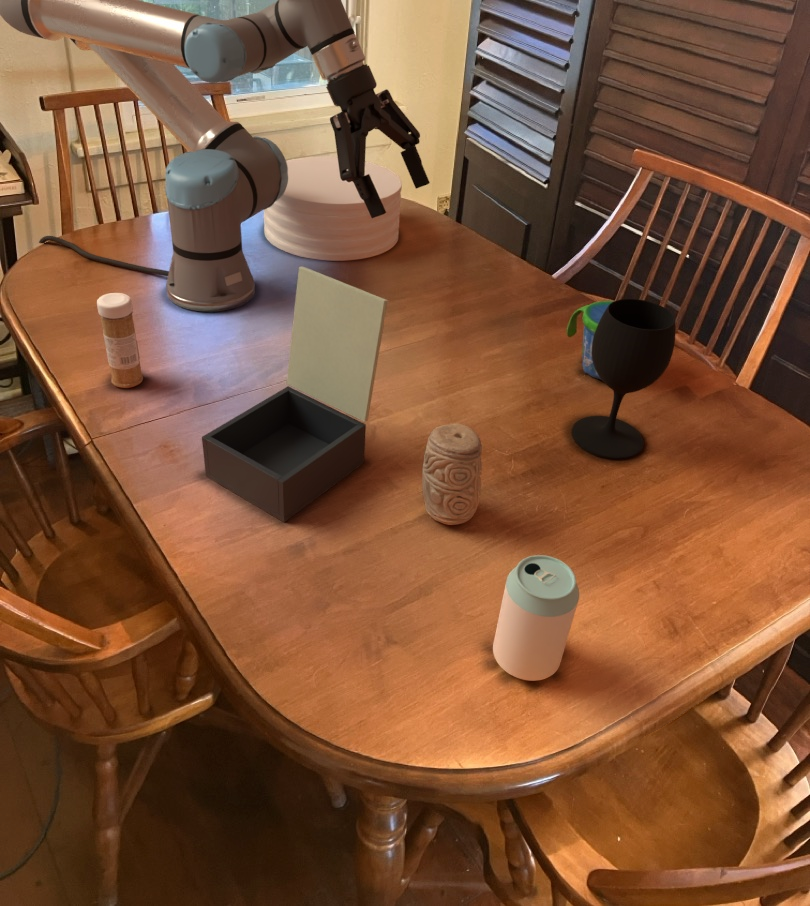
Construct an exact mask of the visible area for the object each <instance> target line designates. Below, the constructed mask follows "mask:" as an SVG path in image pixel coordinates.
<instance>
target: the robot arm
mask: <svg viewBox="0 0 810 906" xmlns="http://www.w3.org/2000/svg"><path fill="white" fill-rule="evenodd" d="M0 17H1V18H2V19H3V21H4V22H6V23H7V24H8V25H9V26H10V27H12V28H13V29H15V30H17V31H18V32H20V33H23V34H24V35H28V36H32V37H36V38H40V39H43V40H48V41H55V42H56V41H59V40H61V39H63V38H67V39H69V40H70V41H71V42H72V43H73V44H74V45H75V46H76V47H77V48H78V49H79V50H81V51H86V52H88V51H90V52H93V53H95V54H96V55H97V56H98V57H99V58H100V60H101V61H103V63H104V64H105V65H106V66H107V67H108V68H109V70H111V72H113V74H115V76H116V77H117V78H118V79H119V80H120V81H121V82H122V83H123V84H124V86H126V87H127V89H128V90H130V91H131V93H132V94H133V95H134V96H135V97H136V98H137V99H138V100H139V101H140V102H141V103H142V104H143V105H144V106H145V107H146V109H148V111H149V112H150V113H151V114H152V115H153V116H154V117H155V118H156V119H157V120H158V121H159V123H161V124H162V125H163V126H164V128H165V129H167V131H169V133H170V134H171V135H172V136H173V137H174V138H175V139H176V140H177V141H178V142H179V143H180V144H181V145H182V147H183V148H184V149H185V150H186V152H184V153H180V154H179V155H177V156H175V157H174V158H173V159H171V160H170V162H169V163H167V166H166V169H165V175H164V178H165V184H164V193H165V197H166V202H167V210H168V218H169V227H170V232H171V233H170V235H171V236H170V237H171V242H172V257H171V261H170V265H169V270H165V269H159V268H152V267H147V266H143V265H137V264H134V263H129V262H125V261H121V260H117V259H112V258H109V257H103V256H100V255H96V254H92V253H91V252H88V251H86V250H84V249H82V248H81V247H79V246H78V245H77V244H75V243H73V242H70V241H67V240H65V239H63V238H60V237H57V236H56V235H55V236H54V235H45V236H43V237H41V238H40V240H39V241H38V244H46V243H47V242H54V243H57V244H60V245H62V246H64V247H67V248H69V249H71V250H74V252H76V253H77V254H79V255H80V256H82V257H84V258H86V259H89V260H92V261H96V262H99V263H103V264H108V265H112V266H117V267H120V268H124V269H129V270H133V271H137V272H143V273H146V274H153V275H159V276H164V277H167V278H166V283H165V284H166V285H165V286H166V295H167V298H168V299H169V300H170V301H171V303H173V304H174V305H176V306H178V307H180V308H183V309H187V310H191V311H196V312H210V313H211V312H221V311H223V312H224V311H228V310H233V309H236V308H239V307H241V306H244V305H245V304H247V303H248V302H250V301H251V300H252V299H253V298H254V296H255V293H256V289H255V279H254V276H253V274H252V272H251V269H250V267H249V265H248V262H247V258H246V256H245V254H244V252H243V242H242V224H243V223H244V222H245V221H247V220H249V219H251V218H252V217H254V216H255V215H257V214H259V213H260V212H262V211H264V209H267V208H269V207H271V206H272V205H273V204H274V203H275V202H276V201H277V200H278V199H279V198H280V197H281V196H282V195H283V194H284V192H285V190H286V187H287V184H288V167H287V163H286V161H287V159H286V158H285V155H284V153H283V152H282V150H281V148H280V147H279V146H278V145H277V144H276V143H275V142H273V141H272V140H271V139H269V138H266V137H261V136H253V135H251V133H250V132H249V131H247V129H246V128H245V127H244V125H242V123H240V121H228V120H226V119H225V118H224V117H223V116H222V115H221V114H220V113H219V112H218V111H217V110H216V108H215V107H214V106H213V105H212V104H211V103H210V101H208V100H207V99H206V97H204V95H203V94H202V93H201V92H200V91H199V89H197V88H196V87H195V86H194V85H193V83H192V82H191V81H190V80H189V79H188V78H187V77H186V76H185V74H183V73H182V72H181V70H180V69H178V67H182V68H185V69H189V70H190V71H191V72H192V73H193V74H194V75H195V76H196V77H197V78H199V80H201V81H203V82H205V83H209V84H217V83H227V82H230V81H232V80H234V79H236V78H238V77H240V76H243V75H246V74H249V73H251V74H259V73H262V72H264V71H267V70H269V69H272V68H274V67H275V66H276V65H277V64H279V63H280V62H282V61H284V60H285V59H287V58H289V57H290V56H292V55H293V54H295V53H297V52H299V51H300V50H303V49H305V48H306V47H307V48H308V50H309V52H310V55H311V57H312V59H313V61H314V64H315V66H316V68H317V70H318V74H319V75H320V77H321V80H323V81H327V83H326V87H325V88H326V90H327V92H328V95H329V97H330V99H331V102H332V104H333V105H334V106H335V107H339V108H340V112H338V113H336V114H334V115H332V116H330V117H329V122H330V125H331V129H332V130H333V132H334V133H333V134H334V140H335V148H336V155H337V156H336V157H338V164H339V172H340V178H341V180H342V181H347V182H351V181H353V183H354V185H355V187H356V189H357V191H358V193H359V195H360V198H361V199H362V200H364V202H365V205H366V207H367V209H368V211H369V213H370V215H371V218H375V217H377V216H380V215H383V214H385V213H386V211H385V208H384V206H383V204H382V202H381V200H380V197H379V195H378V193H377V191H376V188H375V186H374V184H373V182H372V179H371V177H370V175H369V174H368V175H365V161H366V150H367V149H366V148H367V147H366V145H367V137H368V136H369V133H370V132H372V131H373V130H379V131H380V132H381V133H382V134H383V135H385V137H387V138H388V139H390V140H391V141H392V142H393V143H395V144H396V145H397V146H399V147H400V148H401V149H402V151H400V155H401V158H402V160H403V162H404V164H405V165H404V166H405V167H406V169H407V171H408V174H409V176H410V178H411V181H412V183H413V185H414V188H415V189H419V188H422V187H425V186H427V185H429V184H431V182H430V180H429V177H428V174H427V172H426V170H425V168H424V165H423V162H422V158H421V156H420V153H419V150H418V149H417V145H419V144H420V138H421V132H419V130H418V129H417V128H416V126H415V125H414V124H413V122H411V121H410V119H409V118H408V116H407V115H406V114H405V113H404V112H403V110H402V109H401V108H400V106H399V105H398V104H397V103H396V102H395V99H394V98H393V97H392V94H391V92H390V90H389V89H384V90H381V91H380V92H378V93H376V91H375V89H376V88H377V86H378V85H377V80H376V79H375V76H374V74H373V72H372V69H371V67H370V65H368V64H367V63H364V61H365V60H366V56H365V54H364V51H363V49H362V47H361V45H360V42H359V40H358V38H357V35H356V33H355V29H354V28H353V26H352V23H351V20H350V18H349V16H348V14H347V12H346V8H345V6H344V4H343V2H342V0H277V1H275V2H273V3H272V4H270V5H268V6H266V7H265V8H263V9H261V10H259V11H257V12H253V13H249V14H246V15H242V16H237V17H233V18H229V19H218V18H214V17H209V16H205V15H199V14H198V13H193V12H190V11H187V10H186V11H184V10H181V9H177V8H172V7H169V6H165V5H160V4H156V3H153V2H152V3H151V2H147V1H144V0H0ZM177 66H178V67H177ZM347 169H348V171H347ZM364 175H365V176H364Z"/></svg>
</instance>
